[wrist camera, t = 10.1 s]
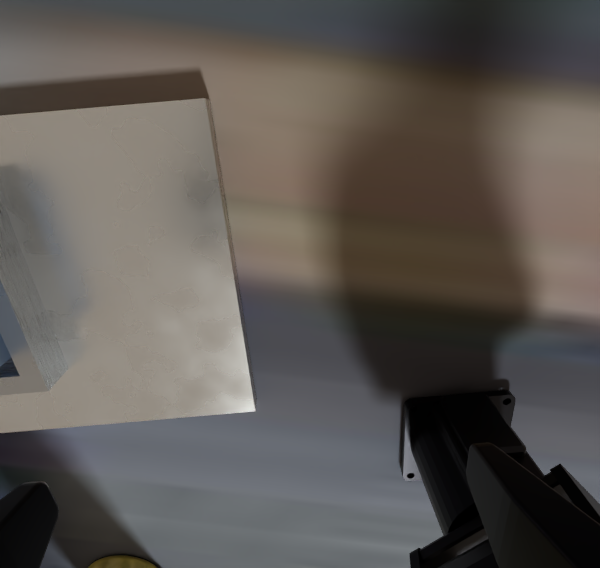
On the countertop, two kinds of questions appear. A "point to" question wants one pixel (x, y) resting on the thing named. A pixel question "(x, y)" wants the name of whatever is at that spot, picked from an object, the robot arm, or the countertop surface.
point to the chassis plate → (117, 269)
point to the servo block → (3, 352)
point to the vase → (122, 562)
